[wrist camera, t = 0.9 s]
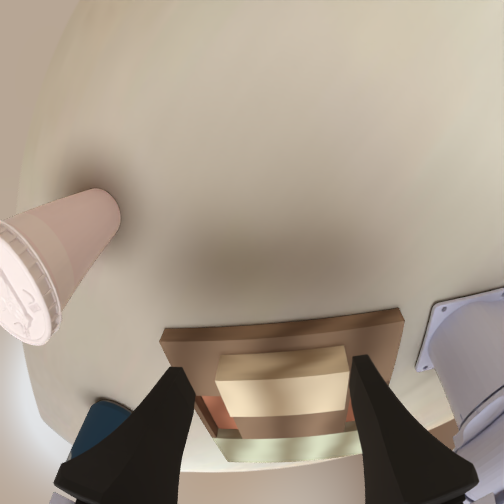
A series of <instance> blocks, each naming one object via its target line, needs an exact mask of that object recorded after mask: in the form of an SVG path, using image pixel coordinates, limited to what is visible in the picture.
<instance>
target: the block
mask: <svg viewBox="0 0 504 504" xmlns="http://www.w3.org/2000/svg"><path fill="white" fill-rule="evenodd" d="M349 372H350V371H349V366H348V362H347V357H346V352H345V348H344V345H342V346H335V347H327V348H318V349H308V350H298V351H287V352H274V353H258V354H238V355H220V359H219V364H218V368H217V373H216V378H215V382H216V385H217V387H218V390H219V392H220V394H221V397H222V399H223V401H224V404H225V406H226V408H227V410H228V413H229V415H230V417H266V416H287V415H301V414H312V413H322V412H330V411H338V410H344V408H345V402H346V395H347V388H348V380H349Z"/></svg>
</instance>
